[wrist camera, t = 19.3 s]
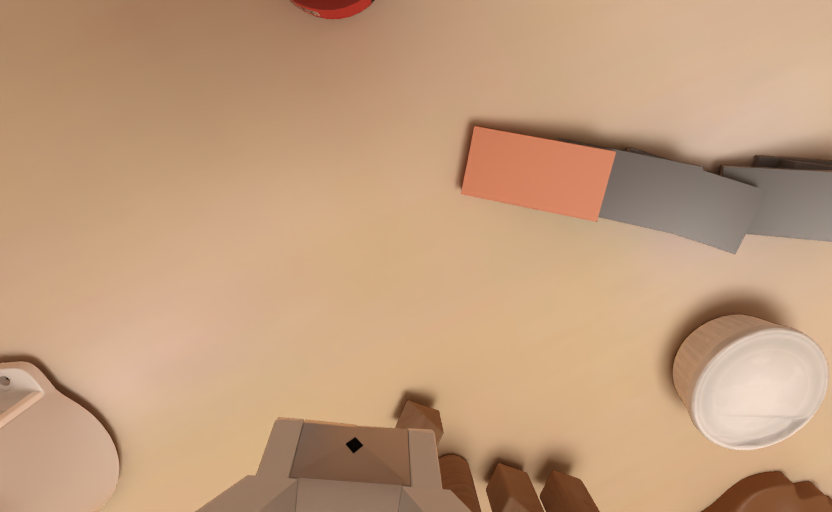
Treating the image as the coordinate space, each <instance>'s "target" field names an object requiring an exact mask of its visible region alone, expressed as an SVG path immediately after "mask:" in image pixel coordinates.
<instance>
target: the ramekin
mask: <svg viewBox="0 0 832 512" xmlns="http://www.w3.org/2000/svg"><path fill="white" fill-rule="evenodd" d="M673 380H674V385H675V388H676V390H677V392H678V394H679V396H680V398H681V399H682V401H683V403H684V405H685V406H686V408H687V410H688V413H689V416H690V418H691V420H692V422H693V424H694V425H695V427H696V428H697V429H698V430H699V431H700V432H701V434H702V435H704V436H705V437H706V438H707V439H708V440H710V441H711V442H713V443H715V444H717V445H719V446H721V447H724V448H728V449H734V450H753V449H760V448H764V447H768V446H771V445H774V444H776V443H778V442H781V441H783V440H785V439H787V438H788V437H790V436H792V435H793V434H794V433H796V432H797V431H799V430H800V429H801V428H802V427H803V426H804V425H805V424H806V423H807V422H808V421H809V420H810V419H811V418H812V417H813V416H814V414H815V413H816V412H817V410H818V408H819V407H820V405H821V403H822V401H823V399H824V397H825V394H826V391H827V387H828V380H829V371H828V364H827V361H826V358H825V355H824V353H823V351H822V350H821V348H820V347H819V345H818V344H817V343H816V342H815V341H814V340H813V339H811V338H810V337H809V336H807V335H806V334H804V333H803V332H800V331H798V330H796V329H794V328H791V327H788V326H784V325H778V324H774V323H771V322H768V321H765V320H762V319H759V318H756V317H753V316H747V315H728V316H722V317H719V318H716V319H713V320H711V321H709V322H707V323H705V324H703V325H701V326H700V327H698V328H697V329H696V330H694V331H693V332H692V333H691V334H690V335H689V336H688V337H687V338H686V339H685V340H684V342H683V343H682V345H681V346H680V348H679V350H678V352H677V354H676V357H675V360H674V364H673Z"/></svg>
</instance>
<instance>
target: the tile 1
mask: <svg viewBox="0 0 832 512" xmlns="http://www.w3.org/2000/svg"><path fill="white" fill-rule="evenodd" d="M559 141H561V142H567V143H572V144H578V145H583V146H589V147H595V148H600V149H606V150H611V151H615V152H616V154H615V158H614V162H613V165H612V169H611V172H610V176H609V180H608V183H607V187H606V190H605V194H604V198H603V201H602V205H601V209H600V212H599V216H598V217H601V218H605V219H610V220H614V221H618V222H623V223H627V224H632V225H636V226H641V227H645V228H649V229H654V230H658V231H663V232H667V233H672V234H676V235H680V234H681V231H682V228H683V225H684V223H685V220H686V217H687V214H688V211H689V208H690V205H691V202H692V199H693V196H694V193H695V190H696V187H697V184H698V181H699V178H700V175H701V173H702V170H703V167H700V166H695V165H690V164H685V163H680V162H676V161H671V160H666V159H661V158H656V157H651V156H646V155H641V154H636V153H631V152H626V151H621V150H616V149H611V148H606V147H601V146H596V145H591V144H586V143H581V142H576V141H571V140H566V139H562V138H559Z"/></svg>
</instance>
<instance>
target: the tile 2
mask: <svg viewBox="0 0 832 512" xmlns="http://www.w3.org/2000/svg"><path fill="white" fill-rule="evenodd" d="M626 152H631V153H636V154H641V155H646V156H651V157H656V158H661V159H665V158H662V157H659V156H656V155H653V154H650V153H646V152H643V151H640V150H637V149H634V148H630V147H627V148H626ZM666 160H669V159H666ZM671 161H672V160H671ZM766 193H767V191H766V190H763V189H760V188H757V187H754V186H751V185H748V184H744V183H741V182H738V181H735V180H732V179H729V178H725V177H722V176H719V175H716V174H713V173H710V172H706V171H703V170H702V173H701V175H700V178H699V181H698V184H697V187H696V190H695V193H694V196H693V199H692V202H691V205H690V208H689V211H688V214H687V217H686V220H685V223H684V225H683V228H682V231H681V234H680V235H679V236H682V237H685V238H688V239H691V240H694V241H697V242H700V243H703V244H706V245H709V246H712V247H715V248H718V249H721V250H724V251H727V252H730V253H733V254H736V252H737V250H738V248H739V246H740V244H741V242H742V240H743V238H744V236H745V234H746V232H747V230H748V228H749V226H750V224H751V222H752V220H753V218H754V216H755V214H756V212H757V210H758V209H759V207H760V205H761V203H762V201H763V199H764V197H765V195H766Z"/></svg>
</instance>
